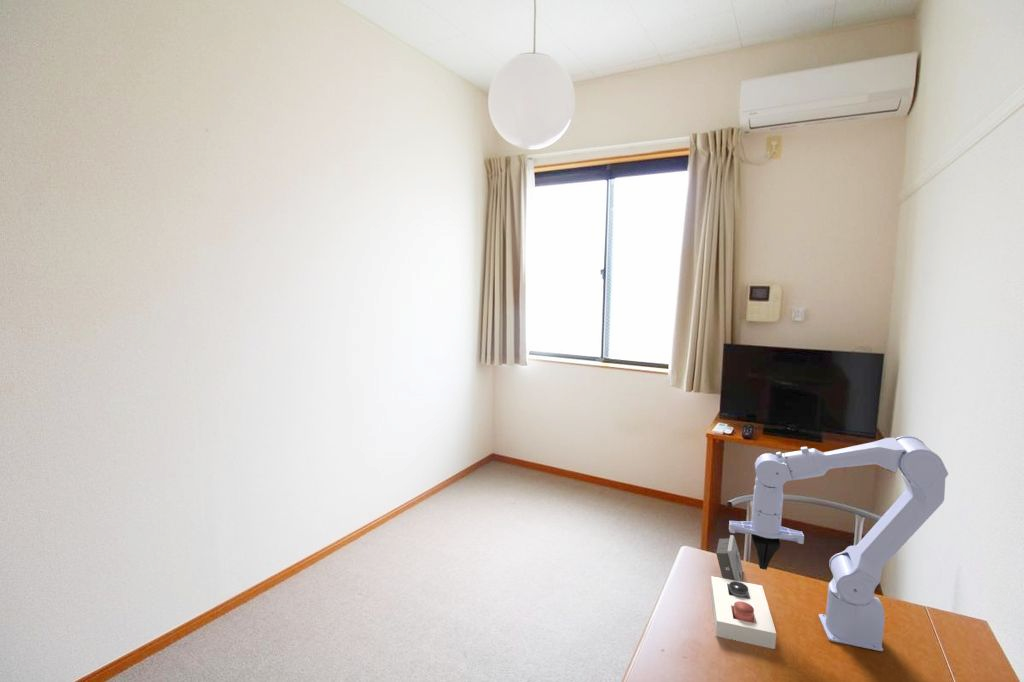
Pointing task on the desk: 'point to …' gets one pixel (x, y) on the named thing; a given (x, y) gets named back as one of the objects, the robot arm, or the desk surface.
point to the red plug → (743, 611)
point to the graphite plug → (738, 589)
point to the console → (739, 630)
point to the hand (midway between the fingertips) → (762, 566)
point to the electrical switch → (729, 559)
